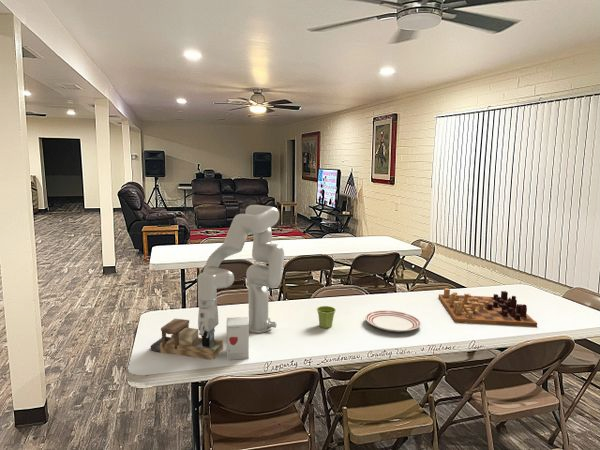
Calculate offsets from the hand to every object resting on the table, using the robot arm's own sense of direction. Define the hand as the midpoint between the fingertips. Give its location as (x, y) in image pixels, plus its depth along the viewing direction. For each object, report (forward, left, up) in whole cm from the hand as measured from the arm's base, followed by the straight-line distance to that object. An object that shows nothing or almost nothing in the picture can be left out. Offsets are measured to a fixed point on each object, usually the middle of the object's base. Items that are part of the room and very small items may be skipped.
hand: (208, 343), depth 179 cm
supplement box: (-12, -2, -4) cm, 13 cm away
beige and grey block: (+5, 0, -1) cm, 5 cm away
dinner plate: (-74, -54, -5) cm, 92 cm away
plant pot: (-42, -43, -4) cm, 61 cm away
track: (+10, 0, -4) cm, 10 cm away
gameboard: (-123, -89, -5) cm, 152 cm away
